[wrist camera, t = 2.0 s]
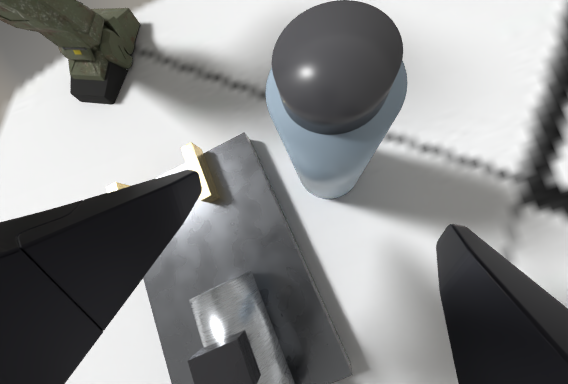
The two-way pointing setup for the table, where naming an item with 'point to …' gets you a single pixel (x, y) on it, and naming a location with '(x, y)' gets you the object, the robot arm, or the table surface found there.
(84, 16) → the mechanical leg
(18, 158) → the table surface
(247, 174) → the plate
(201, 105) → the table surface
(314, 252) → the table surface
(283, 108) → the bottle
